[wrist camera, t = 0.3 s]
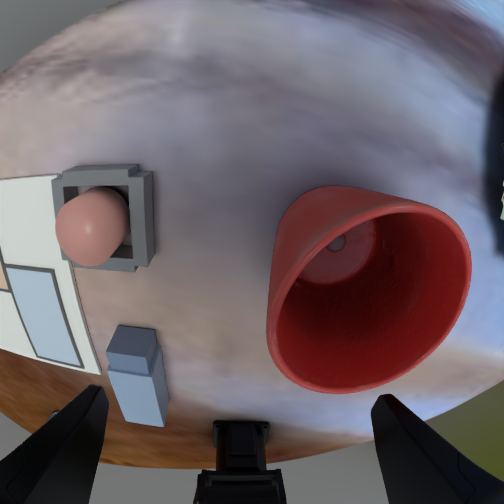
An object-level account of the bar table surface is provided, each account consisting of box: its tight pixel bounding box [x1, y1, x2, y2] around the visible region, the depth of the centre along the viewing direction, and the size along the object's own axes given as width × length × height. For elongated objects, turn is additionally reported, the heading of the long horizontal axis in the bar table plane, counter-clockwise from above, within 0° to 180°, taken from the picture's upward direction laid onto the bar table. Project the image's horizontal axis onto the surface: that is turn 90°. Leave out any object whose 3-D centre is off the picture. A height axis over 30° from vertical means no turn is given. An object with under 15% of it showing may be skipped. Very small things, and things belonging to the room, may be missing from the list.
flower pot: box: [266, 186, 472, 394], centre depth 17 cm, size 11×11×10 cm
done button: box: [55, 187, 131, 267], centre depth 17 cm, size 4×4×3 cm
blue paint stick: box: [106, 326, 169, 427], centre depth 24 cm, size 10×4×4 cm, turn 175°
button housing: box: [51, 164, 155, 272], centre depth 19 cm, size 7×7×2 cm
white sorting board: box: [0, 174, 102, 375], centre depth 21 cm, size 20×16×1 cm
